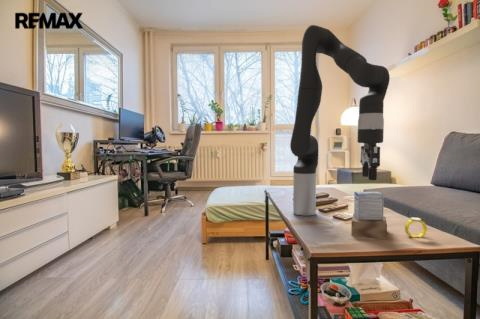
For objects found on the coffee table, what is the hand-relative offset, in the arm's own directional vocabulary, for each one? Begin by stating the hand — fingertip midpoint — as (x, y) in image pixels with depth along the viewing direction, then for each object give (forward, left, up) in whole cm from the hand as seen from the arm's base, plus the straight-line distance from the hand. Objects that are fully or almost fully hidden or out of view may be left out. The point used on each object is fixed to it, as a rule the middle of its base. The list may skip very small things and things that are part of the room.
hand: (368, 178), depth 88 cm
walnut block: (0, 0, -18) cm, 18 cm away
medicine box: (0, 0, -14) cm, 14 cm away
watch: (+13, -2, -18) cm, 23 cm away
